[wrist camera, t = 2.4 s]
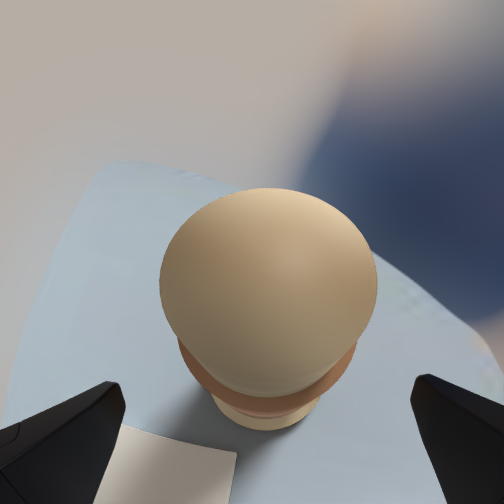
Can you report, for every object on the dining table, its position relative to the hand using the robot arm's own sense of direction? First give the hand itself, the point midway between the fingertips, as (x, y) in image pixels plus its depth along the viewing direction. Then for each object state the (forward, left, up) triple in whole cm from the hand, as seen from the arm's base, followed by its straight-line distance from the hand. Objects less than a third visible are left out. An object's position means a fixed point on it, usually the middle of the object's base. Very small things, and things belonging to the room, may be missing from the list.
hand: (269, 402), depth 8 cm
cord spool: (+2, 0, -10) cm, 10 cm away
